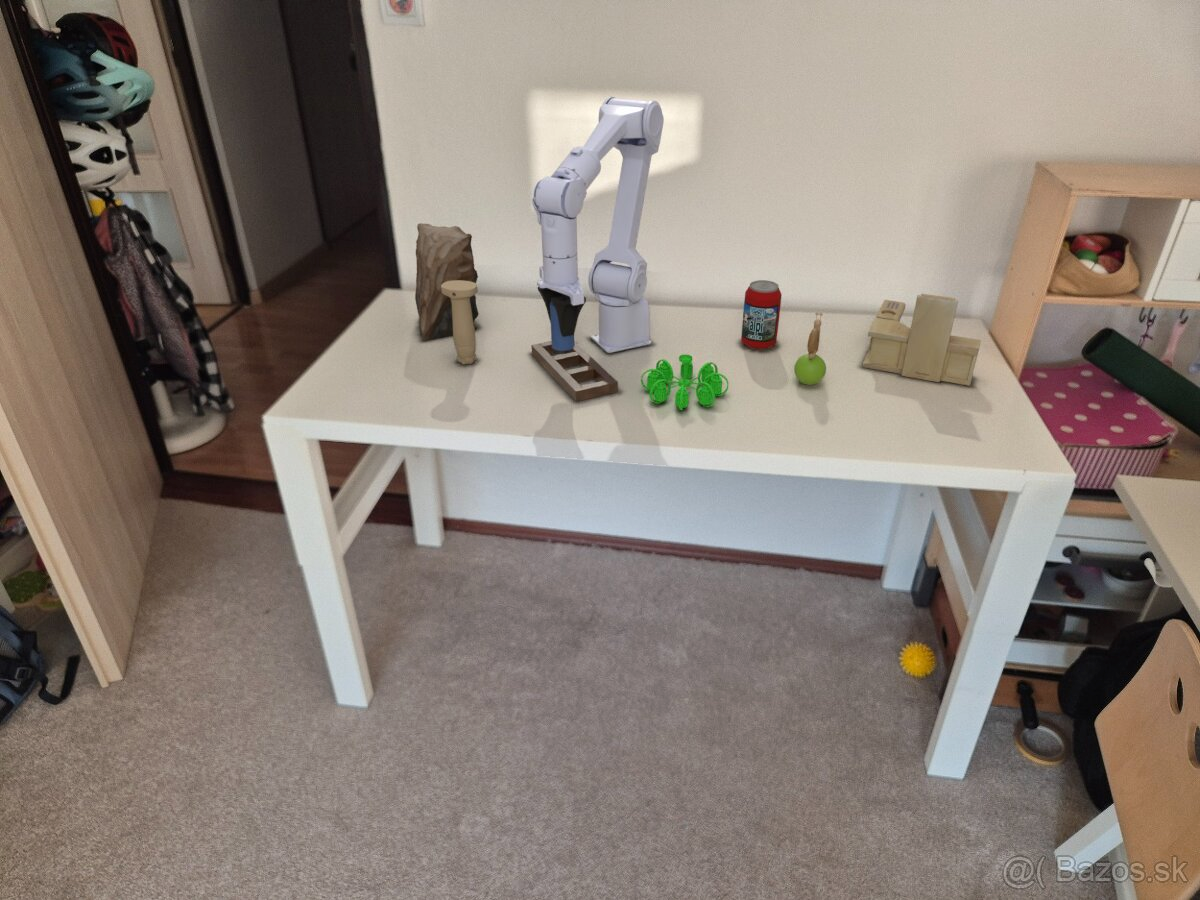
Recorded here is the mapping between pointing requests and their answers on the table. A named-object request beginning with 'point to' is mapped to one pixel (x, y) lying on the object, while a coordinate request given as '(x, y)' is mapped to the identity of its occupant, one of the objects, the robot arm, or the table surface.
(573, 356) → the peg board
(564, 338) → the peg
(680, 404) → the chandelier
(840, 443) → the table surface
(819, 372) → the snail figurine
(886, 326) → the toy kitchen set
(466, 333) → the handle
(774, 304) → the beverage can
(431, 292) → the brown rock
